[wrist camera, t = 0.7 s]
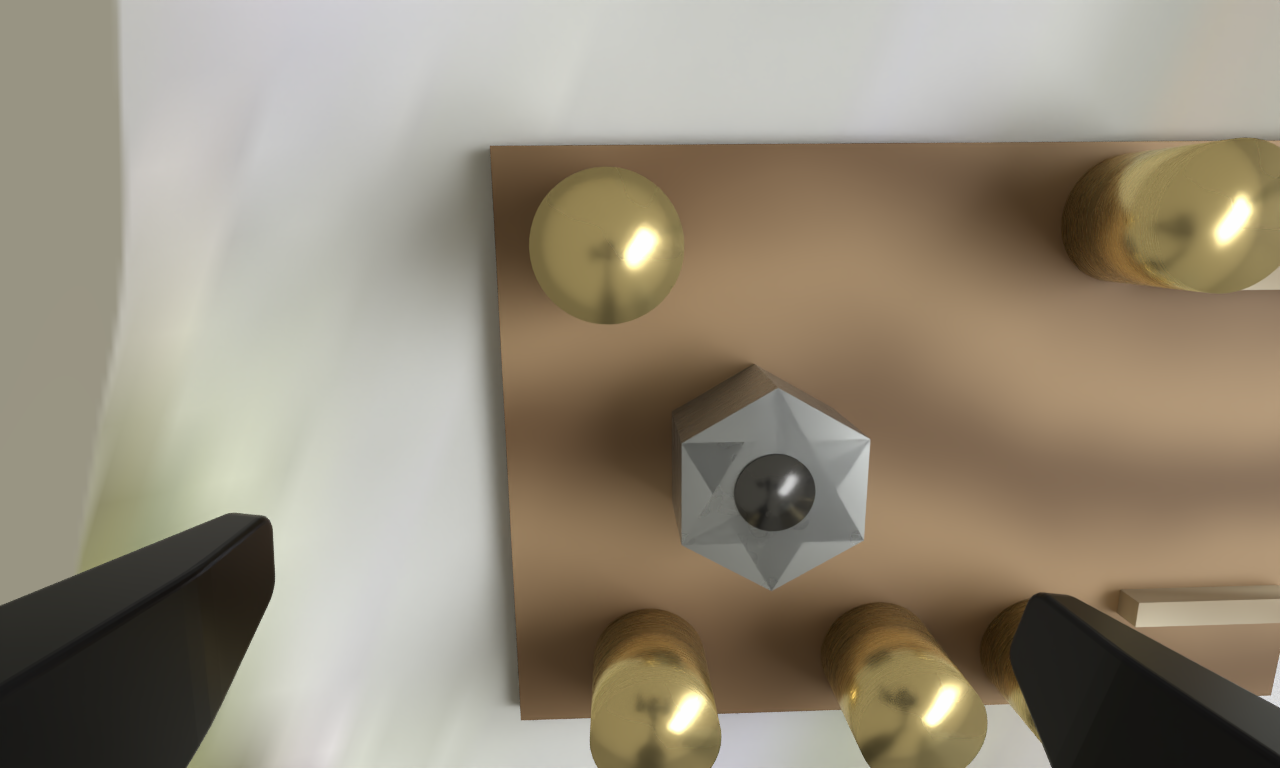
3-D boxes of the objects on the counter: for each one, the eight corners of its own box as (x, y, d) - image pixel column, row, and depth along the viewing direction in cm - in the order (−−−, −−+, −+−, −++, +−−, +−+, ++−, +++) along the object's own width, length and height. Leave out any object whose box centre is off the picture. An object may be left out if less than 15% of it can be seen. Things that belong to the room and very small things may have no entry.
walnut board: (1254, 683, 23) (1294, 711, 22) (523, 707, 23) (517, 738, 21) (1364, 142, 20) (1420, 135, 18) (493, 148, 19) (484, 142, 18)
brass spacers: (1111, 692, 23) (1199, 776, 19) (562, 710, 22) (553, 799, 19) (1193, 152, 19) (1320, 137, 16) (540, 157, 18) (524, 142, 15)
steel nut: (826, 538, 21) (861, 589, 18) (671, 542, 21) (681, 594, 18) (835, 362, 20) (874, 386, 17) (671, 365, 20) (681, 389, 17)
